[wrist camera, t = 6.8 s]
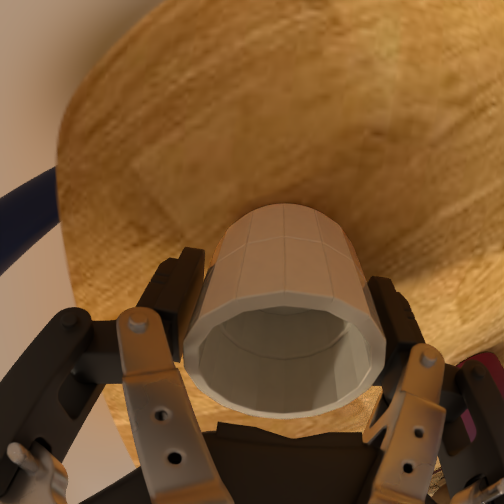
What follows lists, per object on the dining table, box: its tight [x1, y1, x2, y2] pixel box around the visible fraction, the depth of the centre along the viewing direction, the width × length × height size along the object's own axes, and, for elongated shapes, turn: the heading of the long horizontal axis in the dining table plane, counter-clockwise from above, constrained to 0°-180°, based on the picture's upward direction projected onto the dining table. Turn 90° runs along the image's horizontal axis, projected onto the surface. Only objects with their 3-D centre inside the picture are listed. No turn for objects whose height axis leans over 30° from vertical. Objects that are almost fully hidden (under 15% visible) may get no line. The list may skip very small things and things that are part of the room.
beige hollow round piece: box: [183, 203, 386, 419], centre depth 10 cm, size 6×6×6 cm
